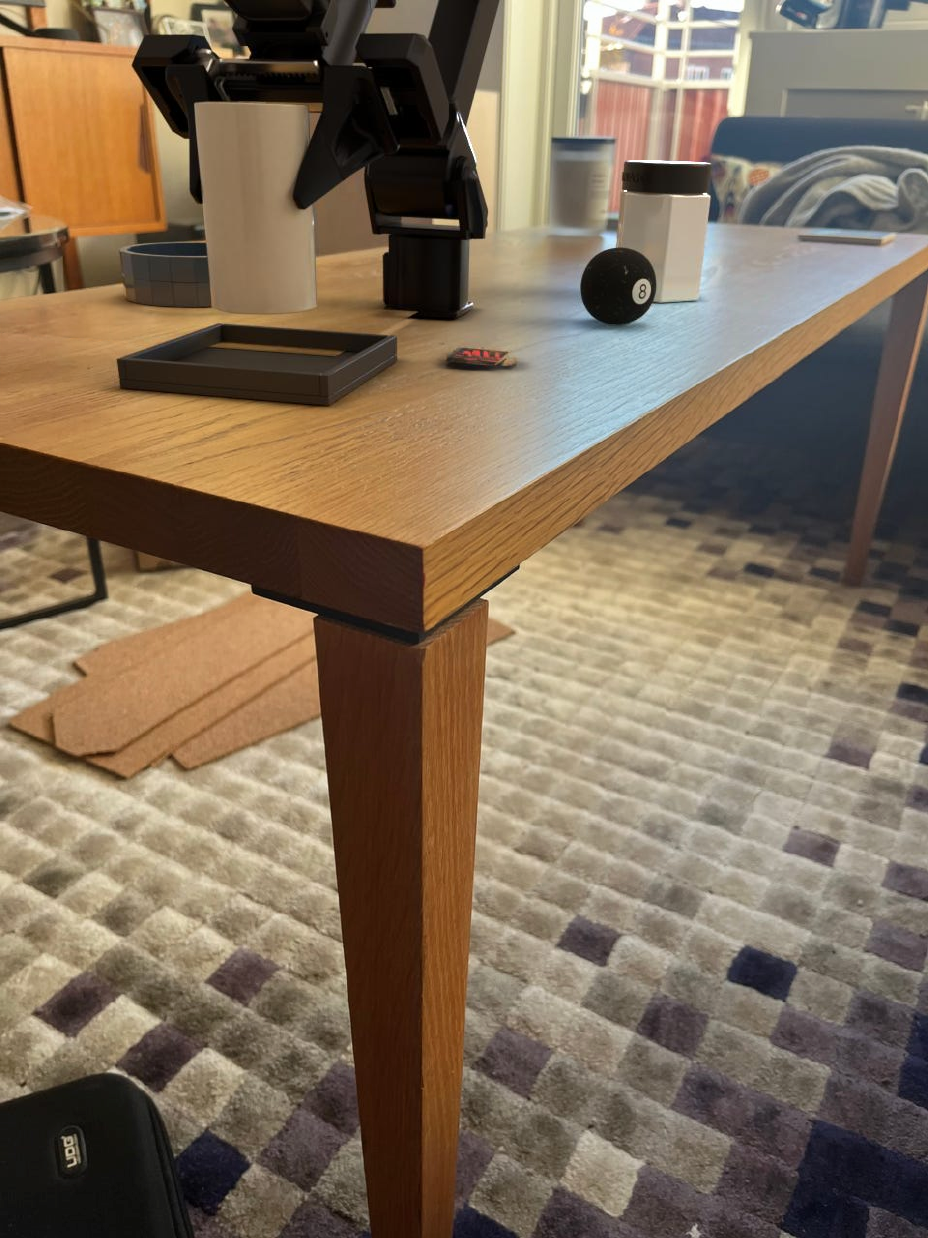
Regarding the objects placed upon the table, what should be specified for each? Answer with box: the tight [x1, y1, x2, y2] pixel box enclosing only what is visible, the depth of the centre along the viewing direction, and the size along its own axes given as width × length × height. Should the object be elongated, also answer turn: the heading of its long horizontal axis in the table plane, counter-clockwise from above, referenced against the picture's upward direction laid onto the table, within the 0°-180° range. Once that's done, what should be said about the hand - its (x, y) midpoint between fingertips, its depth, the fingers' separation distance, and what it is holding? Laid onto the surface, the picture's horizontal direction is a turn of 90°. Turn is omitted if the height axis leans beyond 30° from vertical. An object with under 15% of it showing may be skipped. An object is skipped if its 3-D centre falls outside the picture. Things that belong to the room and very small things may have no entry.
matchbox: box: [446, 346, 518, 368], centre depth 68 cm, size 5×5×1 cm
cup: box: [194, 101, 319, 315], centre depth 59 cm, size 6×6×11 cm
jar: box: [615, 160, 713, 304], centre depth 96 cm, size 9×8×12 cm
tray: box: [116, 322, 398, 407], centre depth 63 cm, size 13×13×2 cm
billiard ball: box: [579, 247, 657, 326], centre depth 81 cm, size 6×6×6 cm
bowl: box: [118, 241, 213, 308], centre depth 86 cm, size 12×12×4 cm
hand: (245, 201), depth 57 cm, fingers closed on cup, 6 cm apart
